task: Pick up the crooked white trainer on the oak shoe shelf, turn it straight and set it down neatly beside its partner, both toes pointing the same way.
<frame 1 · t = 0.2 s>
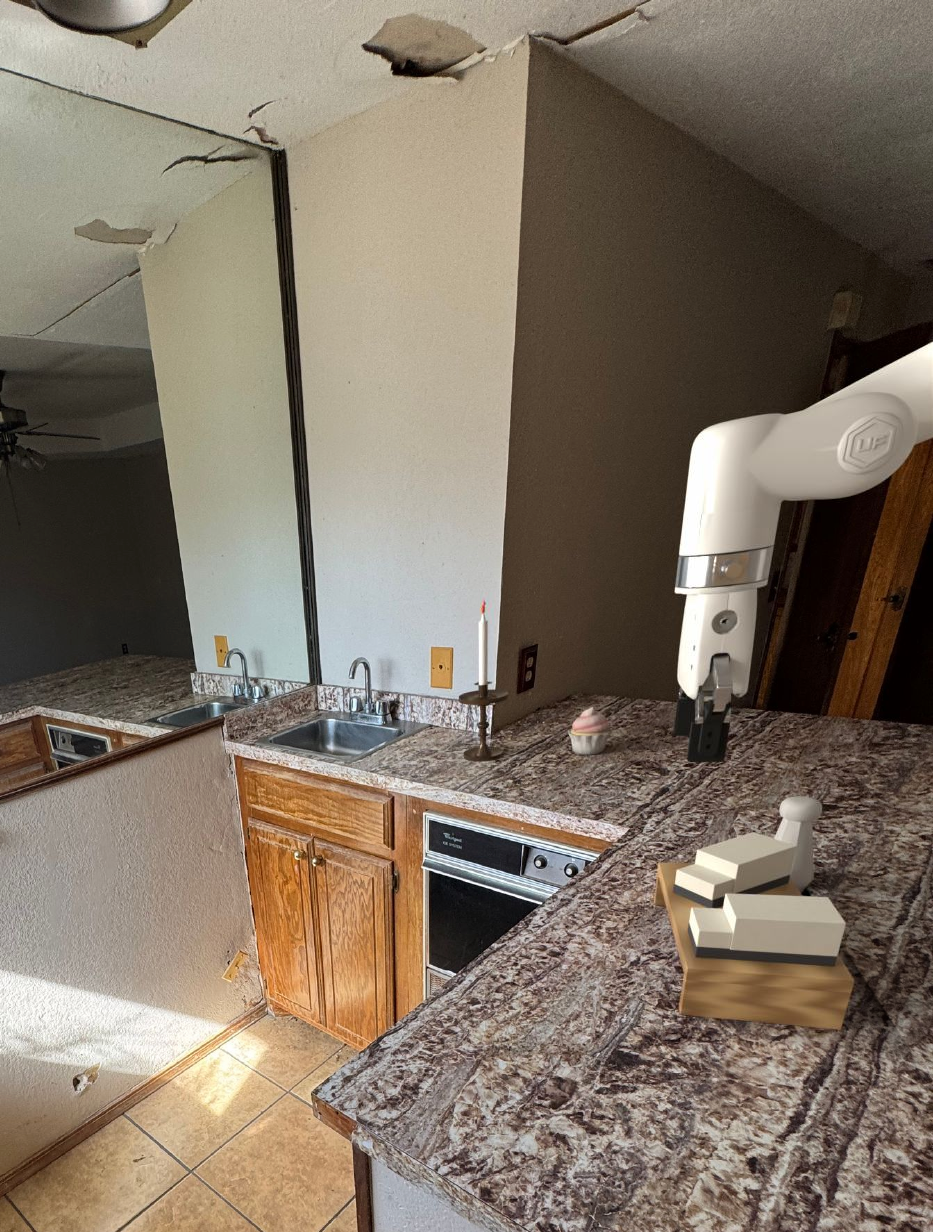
hand: (696, 747, 73), 26 cm above the countertop, tool pointing down, fingers open, 9 cm apart
salt shaker: (782, 890, 93), on the countertop
shoe shelf: (732, 955, 82), on the countertop
trainer: (729, 887, 84), point 6 cm above the countertop, touching shoe shelf
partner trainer: (756, 947, 73), point 6 cm above the countertop, touching shoe shelf
cupcake: (588, 751, 156), on the countertop
candlestick: (483, 756, 164), on the countertop
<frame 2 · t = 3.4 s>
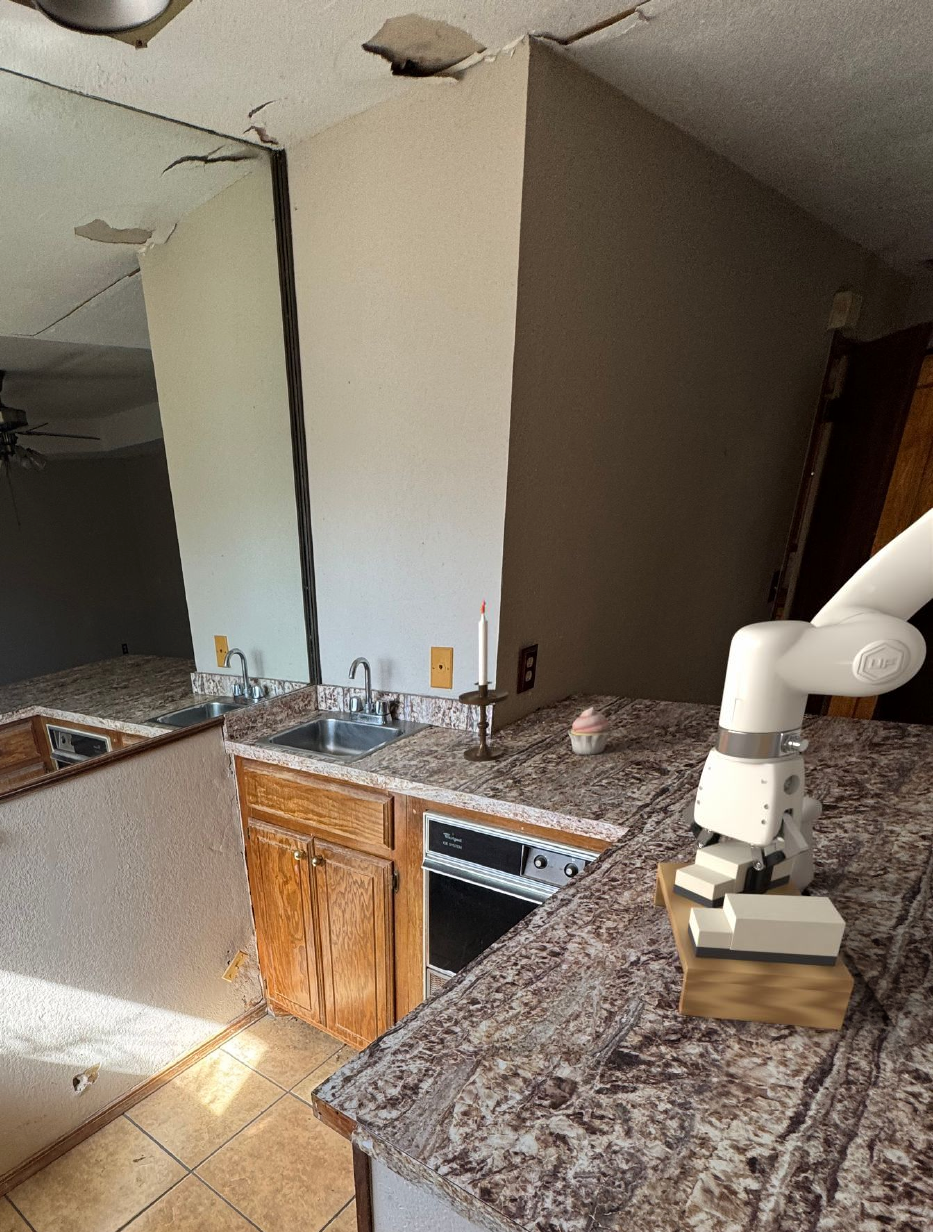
hand: (730, 884, 84), 7 cm above the countertop, tool pointing down, fingers closed on trainer, 5 cm apart
trainer: (729, 887, 84), point 6 cm above the countertop, touching gripper, shoe shelf
everything else where it was.
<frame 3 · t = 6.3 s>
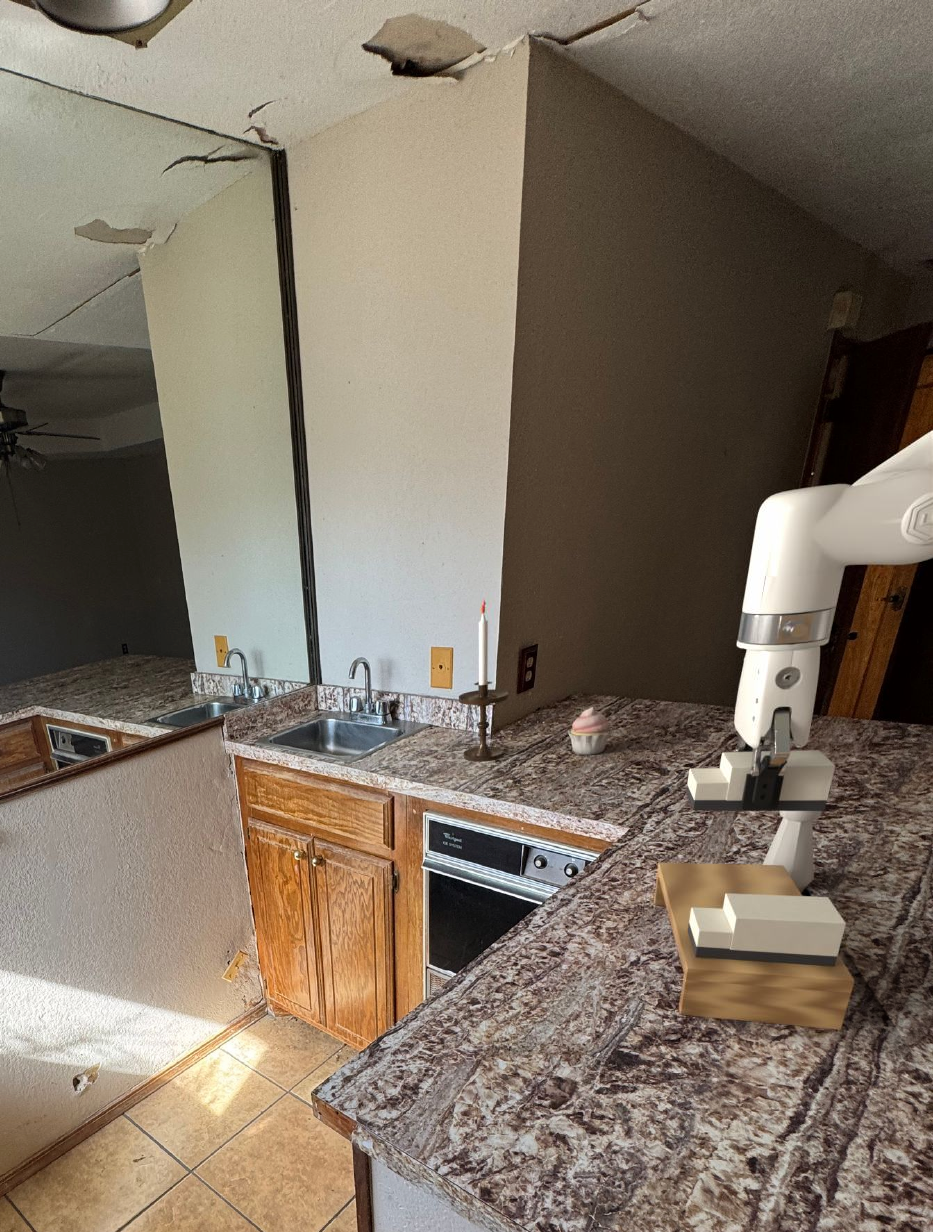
hand: (752, 797, 76), 19 cm above the countertop, tool pointing down, fingers closed on trainer, 5 cm apart
trainer: (751, 802, 77), point 18 cm above the countertop, touching gripper
everything else where it was.
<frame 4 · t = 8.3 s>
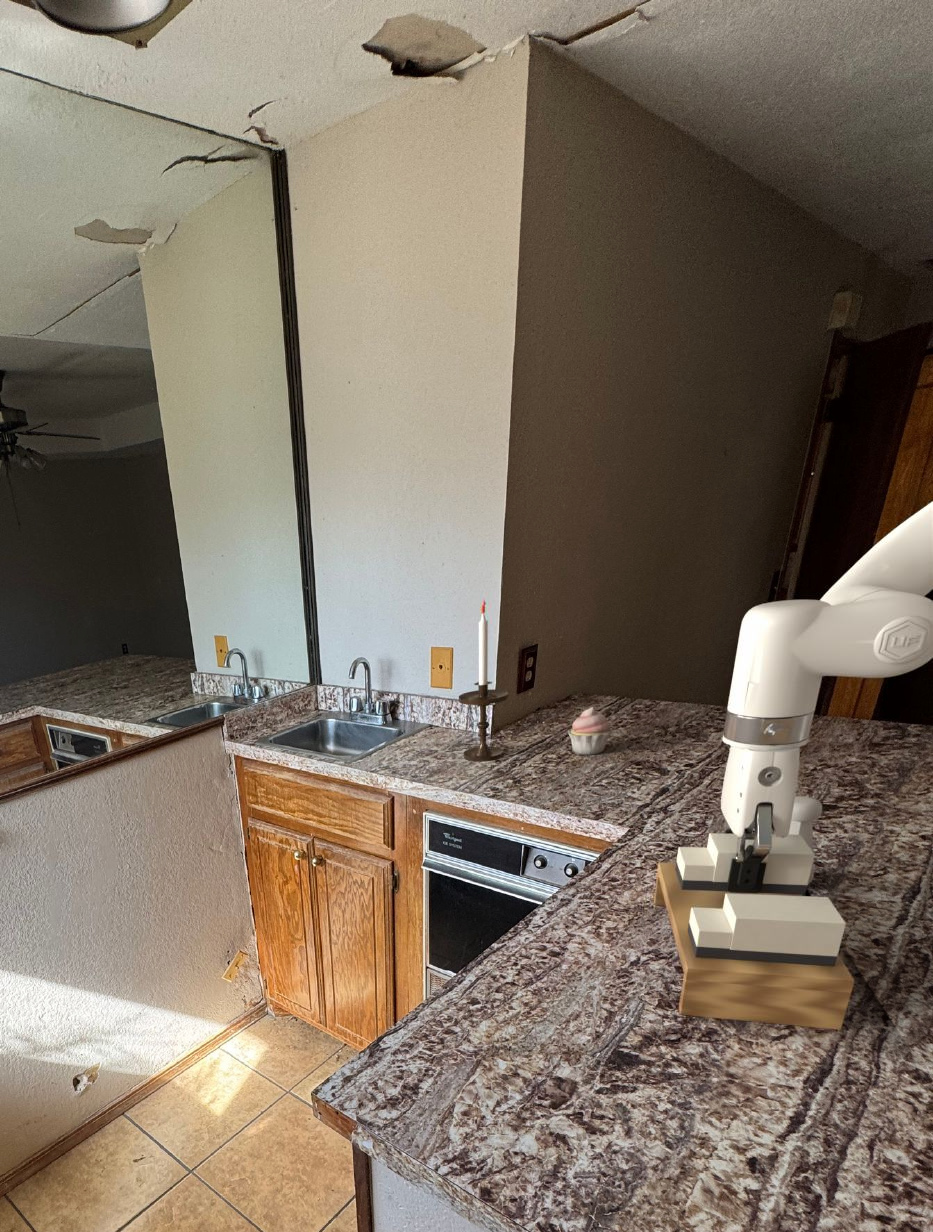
hand: (737, 877, 81), 9 cm above the countertop, tool pointing down, fingers closed on trainer, 5 cm apart
trainer: (736, 881, 81), point 8 cm above the countertop, touching gripper
everything else where it was.
when the fingers open (7 cm above the countertop, at t = 9.5 s): trainer stays where it is, resting on shoe shelf.
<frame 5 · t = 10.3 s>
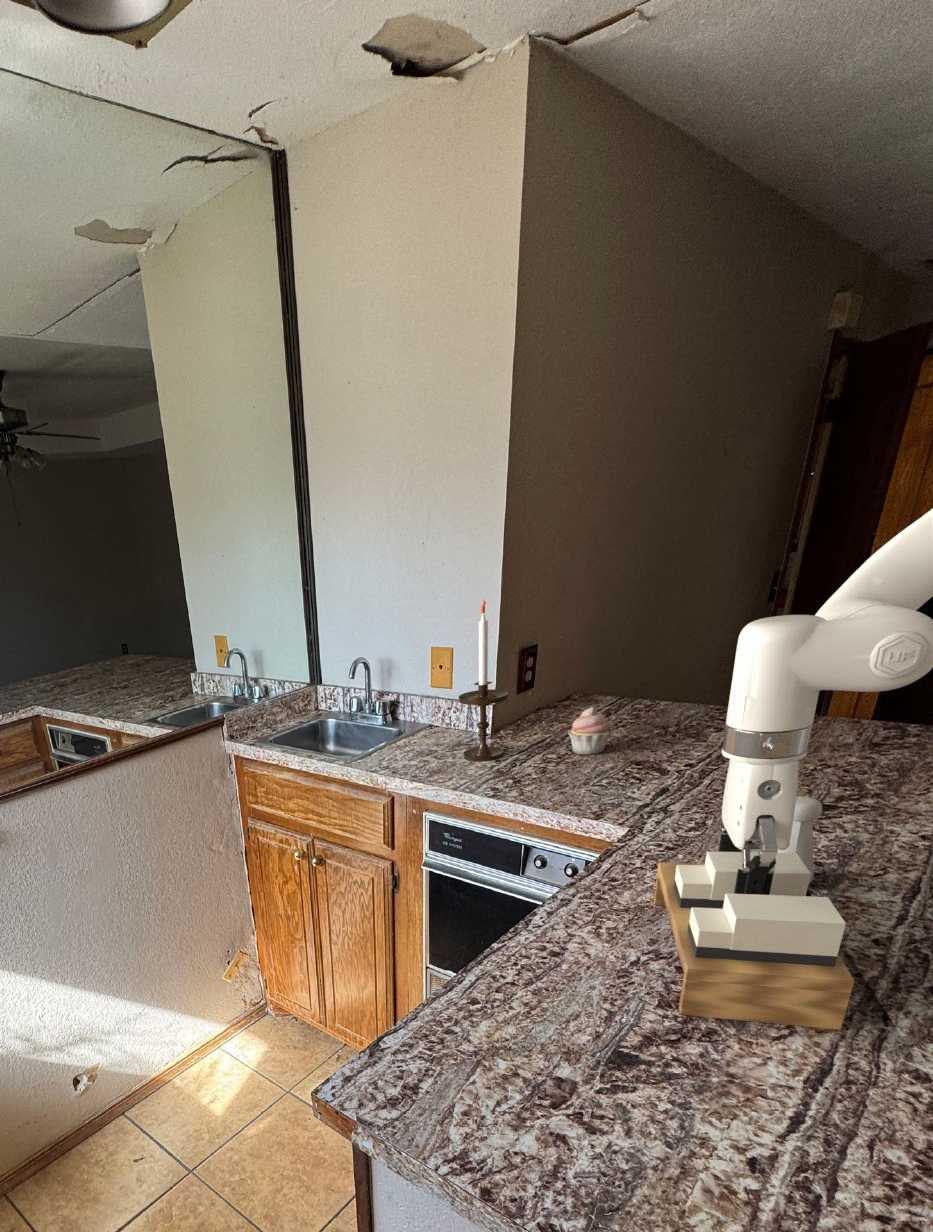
hand: (740, 882, 81), 8 cm above the countertop, tool pointing down, fingers open, 9 cm apart
trainer: (734, 899, 82), point 6 cm above the countertop, touching shoe shelf
everything else where it was.
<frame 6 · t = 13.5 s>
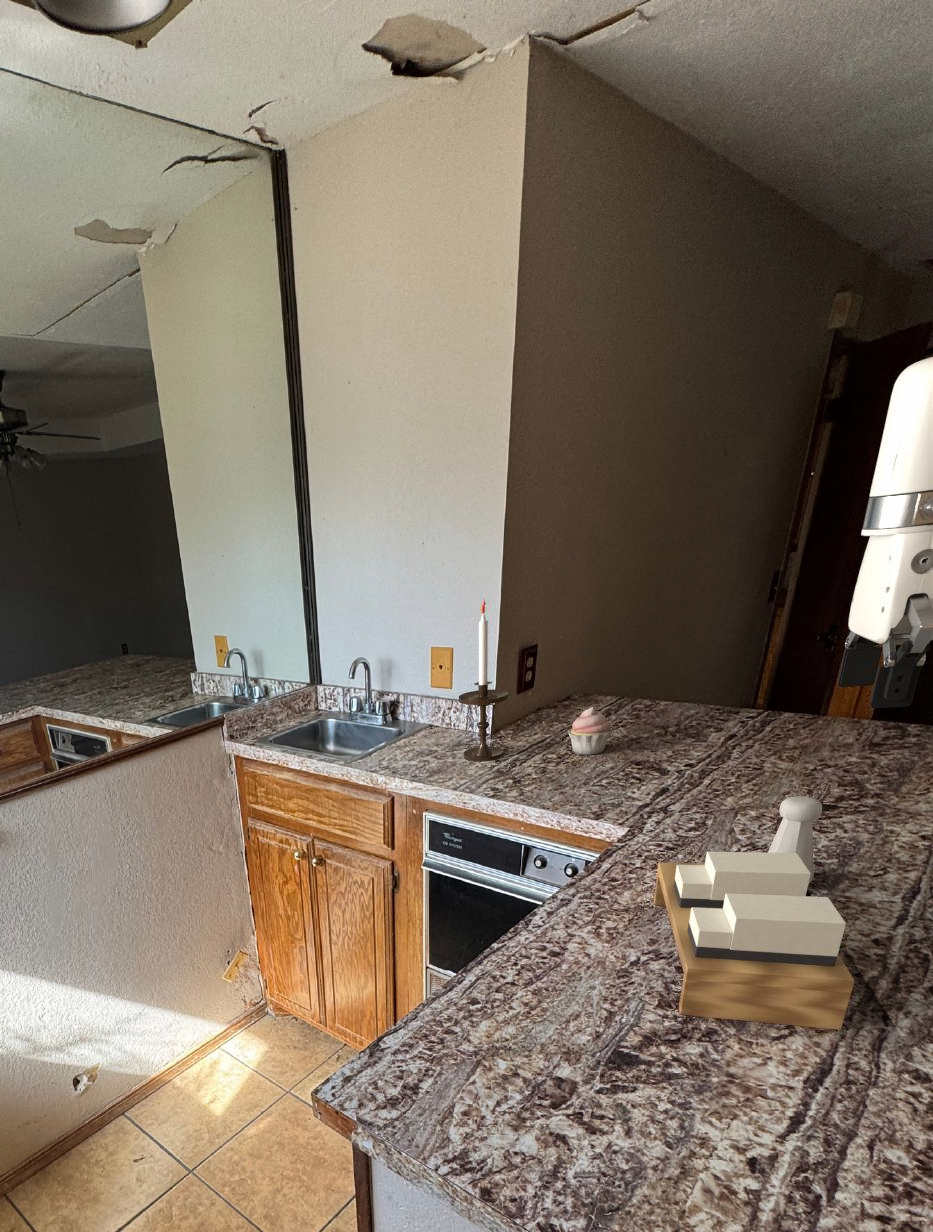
hand: (871, 695, 72), 28 cm above the countertop, tool pointing down, fingers open, 9 cm apart
nothing on the countertop moved.
at the end: trainer 0.1 cm from the target spot, point 6.0 cm above the countertop; trainer tilted 0°; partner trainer moved 0.0 cm from its start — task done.
